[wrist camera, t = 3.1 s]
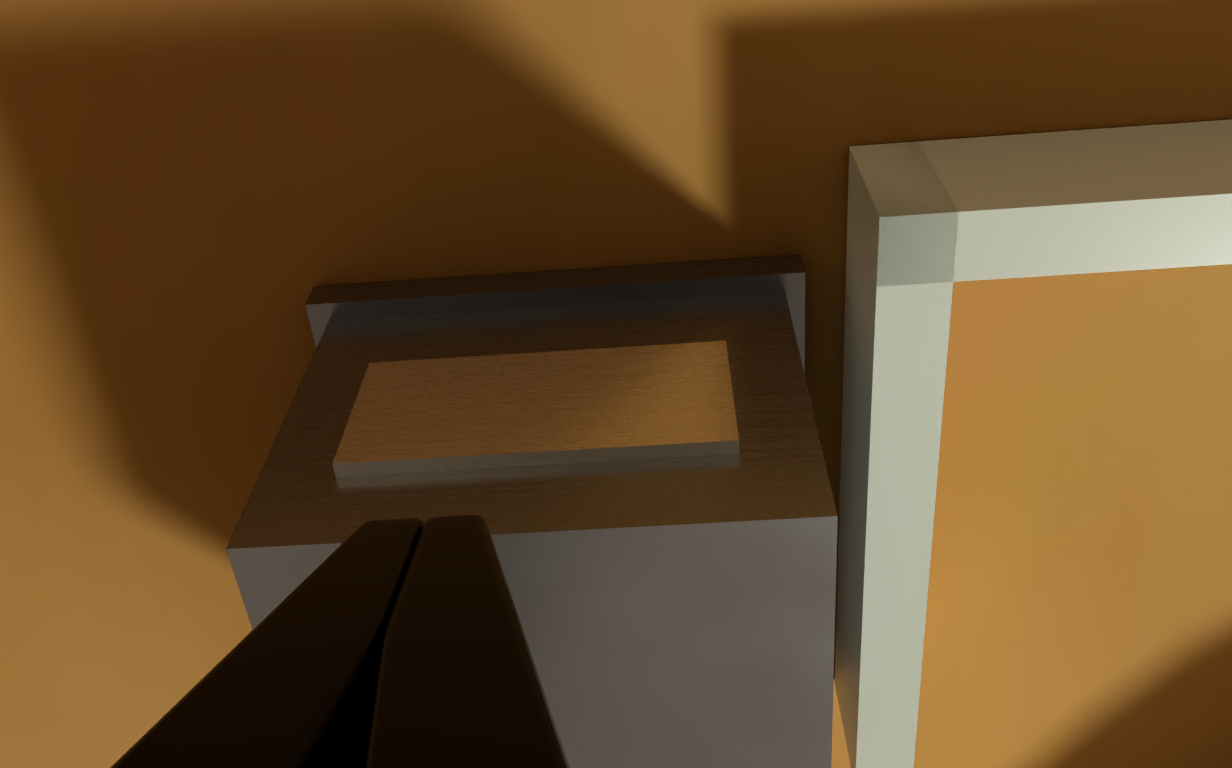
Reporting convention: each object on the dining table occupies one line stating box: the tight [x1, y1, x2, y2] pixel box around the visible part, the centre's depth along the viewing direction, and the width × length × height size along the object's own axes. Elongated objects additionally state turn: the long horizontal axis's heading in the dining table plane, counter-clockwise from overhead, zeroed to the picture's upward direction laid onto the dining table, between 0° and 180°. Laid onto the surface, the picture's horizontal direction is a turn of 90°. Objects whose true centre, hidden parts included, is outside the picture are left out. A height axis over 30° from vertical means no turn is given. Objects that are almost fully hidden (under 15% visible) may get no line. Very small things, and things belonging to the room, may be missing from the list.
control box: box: [226, 255, 838, 768], centre depth 18 cm, size 8×9×6 cm
